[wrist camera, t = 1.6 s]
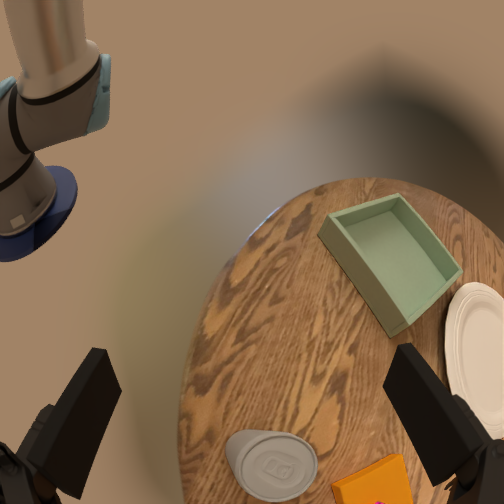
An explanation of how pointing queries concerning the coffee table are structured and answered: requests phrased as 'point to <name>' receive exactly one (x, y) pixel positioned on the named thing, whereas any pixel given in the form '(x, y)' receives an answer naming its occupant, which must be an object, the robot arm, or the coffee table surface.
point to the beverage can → (271, 464)
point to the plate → (477, 353)
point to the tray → (390, 259)
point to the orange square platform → (376, 484)
